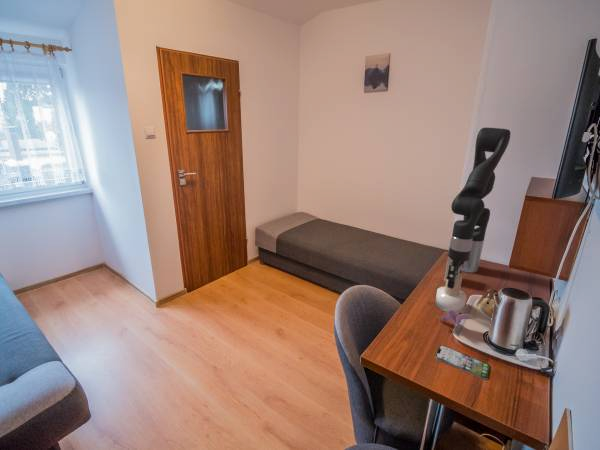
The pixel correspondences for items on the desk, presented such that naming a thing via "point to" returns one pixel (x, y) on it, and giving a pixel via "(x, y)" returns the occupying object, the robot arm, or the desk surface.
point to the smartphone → (463, 362)
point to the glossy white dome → (450, 301)
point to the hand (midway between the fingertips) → (453, 283)
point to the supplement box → (447, 268)
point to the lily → (455, 317)
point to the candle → (457, 286)
